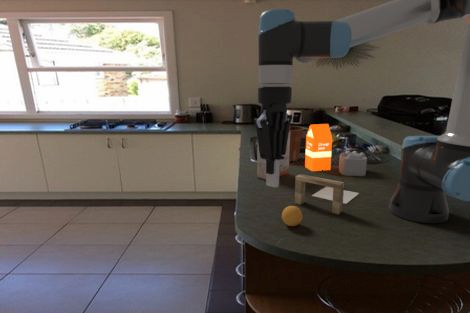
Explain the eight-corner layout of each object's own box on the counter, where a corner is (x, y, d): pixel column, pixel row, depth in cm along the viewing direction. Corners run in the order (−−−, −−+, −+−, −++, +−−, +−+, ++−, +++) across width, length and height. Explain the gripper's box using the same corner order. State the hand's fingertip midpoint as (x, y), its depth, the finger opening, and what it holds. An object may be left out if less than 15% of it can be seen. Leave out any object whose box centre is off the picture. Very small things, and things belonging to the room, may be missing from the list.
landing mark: (359, 193, 110) (359, 193, 110) (346, 204, 101) (346, 203, 101) (326, 187, 117) (326, 186, 117) (311, 196, 108) (311, 195, 108)
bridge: (299, 200, 104) (300, 174, 102) (342, 211, 95) (344, 182, 93) (294, 203, 102) (295, 176, 100) (338, 214, 93) (340, 184, 91)
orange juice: (330, 169, 139) (333, 124, 135) (312, 171, 138) (314, 125, 133) (322, 165, 147) (324, 122, 142) (304, 166, 145) (306, 123, 140)
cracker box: (267, 181, 125) (267, 128, 120) (256, 177, 130) (256, 127, 125) (289, 174, 134) (291, 125, 129) (279, 171, 139) (279, 123, 134)
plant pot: (309, 159, 159) (310, 127, 155) (289, 164, 149) (289, 131, 145) (284, 154, 171) (285, 124, 167) (264, 159, 161) (264, 127, 157)
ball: (305, 224, 87) (306, 205, 86) (295, 231, 83) (296, 212, 81) (288, 219, 90) (288, 201, 89) (277, 226, 86) (278, 207, 85)
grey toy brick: (341, 175, 131) (342, 155, 129) (336, 167, 144) (337, 148, 142) (367, 176, 129) (369, 155, 127) (360, 168, 142) (362, 149, 140)
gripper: (276, 85, 78) (274, 176, 83) (243, 85, 68) (243, 189, 74) (303, 85, 73) (299, 182, 79) (273, 86, 63) (270, 196, 69)
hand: (272, 185), depth 76 cm, fingers closed
